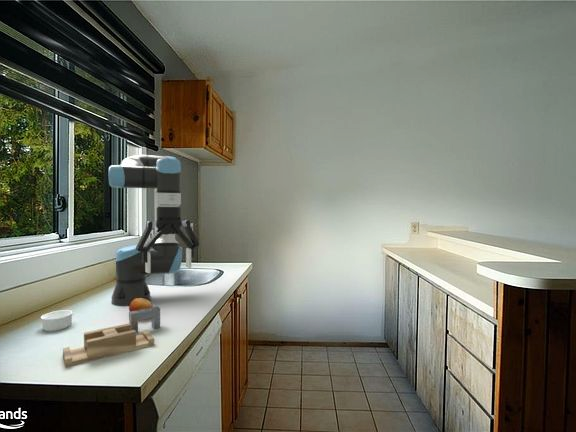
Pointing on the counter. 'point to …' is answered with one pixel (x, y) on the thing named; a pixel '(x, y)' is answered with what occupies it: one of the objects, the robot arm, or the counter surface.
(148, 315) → the clip
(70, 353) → the rail
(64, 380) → the counter surface
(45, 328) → the ramekin
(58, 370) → the counter surface
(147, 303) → the fruit
